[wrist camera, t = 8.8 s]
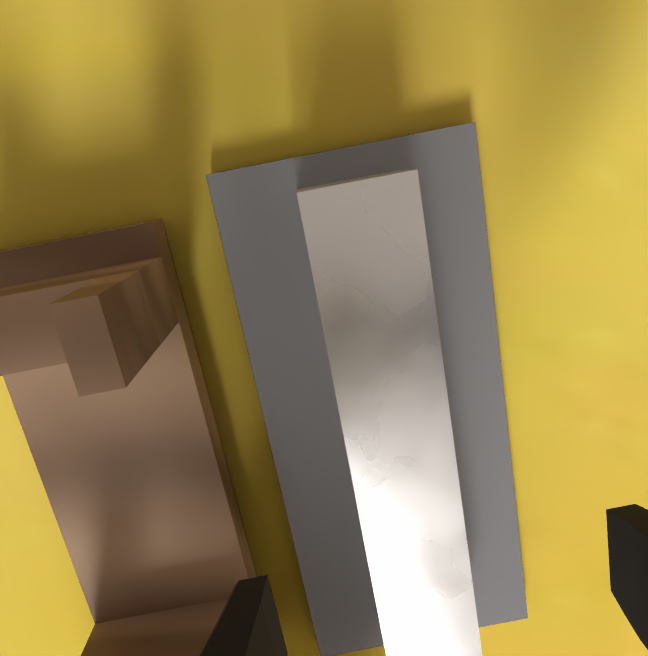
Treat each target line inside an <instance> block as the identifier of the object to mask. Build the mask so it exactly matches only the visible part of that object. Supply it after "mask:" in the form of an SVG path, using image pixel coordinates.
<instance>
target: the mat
mask: <svg viewBox="0 0 648 656" xmlns="http://www.w3.org/2000/svg"><path fill="white" fill-rule="evenodd" d="M415 169H417V170H418V177H419V185H420V192H421V200H422V207H423V215H424V222H425V230H426V237H427V245H428V252H429V260H430V267H431V275H432V282H433V290H434V297H435V305H436V312H437V320H438V327H439V335H440V342H441V350H442V357H443V365H444V372H445V380H446V387H447V395H448V402H449V410H450V417H451V425H452V432H453V440H454V447H455V455H456V462H457V470H458V477H459V485H460V492H461V500H462V507H463V514H464V522H465V529H466V537H467V544H468V552H469V559H470V567H471V574H472V582H473V589H474V597H475V604H476V612H477V619H478V627H483V626H489V625H494V624H499V623H504V622H509V621H515V620H520V619H525V618H528V614H527V605H526V596H525V586H524V577H523V567H522V558H521V549H520V539H519V530H518V520H517V511H516V501H515V492H514V483H513V473H512V464H511V454H510V445H509V436H508V426H507V417H506V407H505V398H504V389H503V379H502V370H501V360H500V351H499V342H498V332H497V323H496V313H495V304H494V294H493V285H492V276H491V266H490V257H489V247H488V238H487V229H486V219H485V210H484V200H483V191H482V182H481V172H480V163H479V153H478V144H477V134H476V125H475V122H473V123H468V124H462V125H457V126H452V127H447V128H442V129H437V130H432V131H427V132H422V133H417V134H412V135H406V136H401V137H396V138H391V139H386V140H381V141H376V142H371V143H366V144H361V145H356V146H350V147H345V148H340V149H335V150H330V151H325V152H320V153H315V154H310V155H305V156H300V157H294V158H289V159H284V160H279V161H274V162H269V163H264V164H259V165H254V166H249V167H244V168H238V169H233V170H228V171H223V172H218V173H213V174H208V175H206V178H207V182H208V186H209V191H210V195H211V199H212V203H213V207H214V212H215V216H216V220H217V224H218V228H219V233H220V237H221V241H222V245H223V249H224V253H225V258H226V262H227V266H228V270H229V274H230V279H231V283H232V287H233V291H234V295H235V300H236V304H237V308H238V312H239V316H240V320H241V325H242V329H243V333H244V337H245V341H246V346H247V350H248V354H249V358H250V362H251V367H252V371H253V375H254V379H255V383H256V388H257V392H258V396H259V400H260V404H261V408H262V413H263V417H264V421H265V425H266V429H267V434H268V438H269V442H270V446H271V450H272V455H273V459H274V463H275V467H276V471H277V476H278V480H279V484H280V488H281V492H282V496H283V501H284V505H285V509H286V513H287V517H288V522H289V526H290V530H291V534H292V538H293V543H294V547H295V551H296V555H297V559H298V563H299V568H300V572H301V576H302V580H303V584H304V589H305V593H306V597H307V601H308V605H309V610H310V614H311V618H312V622H313V626H314V631H315V635H316V639H317V643H318V647H319V651H320V656H331V655H337V654H342V653H347V652H352V651H357V650H363V649H368V648H373V647H378V646H384V642H383V637H382V631H381V626H380V621H379V616H378V611H377V606H376V600H375V595H374V590H373V585H372V580H371V575H370V570H369V564H368V559H367V554H366V549H365V544H364V539H363V533H362V528H361V523H360V518H359V513H358V508H357V502H356V497H355V492H354V487H353V482H352V477H351V471H350V466H349V461H348V456H347V451H346V446H345V440H344V435H343V430H342V425H341V420H340V415H339V409H338V404H337V399H336V394H335V389H334V384H333V378H332V373H331V368H330V363H329V358H328V353H327V347H326V342H325V337H324V332H323V327H322V322H321V316H320V311H319V306H318V301H317V296H316V291H315V285H314V280H313V275H312V270H311V265H310V260H309V254H308V249H307V244H306V239H305V234H304V229H303V223H302V218H301V213H300V208H299V203H298V198H297V189H302V188H307V187H312V186H317V185H322V184H327V183H333V182H338V181H343V180H348V179H353V178H359V177H364V176H369V175H374V174H379V173H385V172H390V171H395V170H415Z"/></svg>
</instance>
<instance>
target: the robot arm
mask: <svg viewBox="0 0 648 656" xmlns="http://www.w3.org/2000/svg"><path fill="white" fill-rule="evenodd" d="M606 514H607V531H608V549H609V567H610V584H611V591H612V593H613V595H614V597H615V598H616V600H617V602H618V604H619V605H620V607H621V609H622V610H623V612H624V614H625V616H626V617H627V619H628V621H629V622H630V624H631V626H632V627H633V629H634V630H635V632H636V634H637V635H638V637H639V639H640V640H641V641H642V643H643V644H644V645H645V647H646V648H647V649H648V510H647V509H645V508H643V507H641V506H638V505H636V504H632V505H627V506H622V507H617V508H612V509H606ZM199 656H287V649H286V646H285V642H284V638H283V634H282V630H281V626H280V622H279V618H278V615H277V611H276V607H275V603H274V599H273V595H272V591H271V587H270V584H269V580H268V576H267V575H264V576H259V577H254V578H249V579H244V580H239V581H238V582H237V584H236V585H235V587H234V589H233V591H232V593H231V595H230V597H229V599H228V601H227V603H226V605H225V607H224V609H223V611H222V613H221V615H220V617H219V619H218V621H217V623H216V625H215V627H214V629H213V631H212V632H211V634H210V636H209V638H208V640H207V642H206V643H205V645H204V647H203V649H202V651H201V652H200V654H199Z"/></svg>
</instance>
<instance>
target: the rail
mask: <svg viewBox="0 0 648 656" xmlns="http://www.w3.org/2000/svg"><path fill="white" fill-rule="evenodd" d="M297 198H298V203H299V208H300V213H301V218H302V223H303V229H304V234H305V239H306V244H307V249H308V254H309V260H310V265H311V270H312V275H313V280H314V285H315V291H316V296H317V301H318V306H319V311H320V316H321V322H322V327H323V332H324V337H325V342H326V347H327V353H328V358H329V363H330V368H331V373H332V378H333V384H334V389H335V394H336V399H337V404H338V409H339V415H340V420H341V425H342V430H343V435H344V440H345V446H346V451H347V456H348V461H349V466H350V471H351V477H352V482H353V487H354V492H355V497H356V502H357V508H358V513H359V518H360V523H361V528H362V533H363V539H364V544H365V549H366V554H367V559H368V564H369V570H370V575H371V580H372V585H373V590H374V595H375V600H376V606H377V611H378V616H379V621H380V626H381V631H382V637H383V642H384V647H385V652H386V656H482V649H481V642H480V634H479V627H478V619H477V612H476V604H475V597H474V589H473V582H472V574H471V567H470V559H469V552H468V544H467V537H466V529H465V522H464V514H463V507H462V500H461V492H460V485H459V477H458V470H457V462H456V455H455V447H454V440H453V432H452V425H451V417H450V410H449V402H448V395H447V387H446V380H445V372H444V365H443V357H442V350H441V342H440V335H439V327H438V320H437V312H436V305H435V297H434V290H433V282H432V275H431V267H430V260H429V252H428V245H427V237H426V230H425V222H424V215H423V207H422V200H421V192H420V185H419V177H418V170H417V169H415V170H395V171H390V172H385V173H379V174H374V175H369V176H364V177H359V178H353V179H348V180H343V181H338V182H333V183H327V184H322V185H317V186H312V187H307V188H302V189H297Z"/></svg>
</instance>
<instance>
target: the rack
mask: <svg viewBox="0 0 648 656" xmlns="http://www.w3.org/2000/svg"><path fill="white" fill-rule="evenodd" d="M0 376H3V378H4V380H5V383H6V386H7V388H8V391H9V394H10V396H11V399H12V402H13V404H14V407H15V410H16V412H17V415H18V418H19V420H20V423H21V426H22V429H23V431H24V434H25V437H26V439H27V442H28V445H29V447H30V450H31V453H32V455H33V458H34V461H35V463H36V466H37V469H38V472H39V474H40V477H41V480H42V482H43V485H44V488H45V490H46V493H47V496H48V498H49V501H50V504H51V506H52V509H53V512H54V514H55V517H56V520H57V523H58V525H59V528H60V531H61V533H62V536H63V539H64V541H65V544H66V547H67V549H68V552H69V555H70V557H71V560H72V563H73V566H74V568H75V571H76V574H77V576H78V579H79V582H80V584H81V587H82V590H83V592H84V595H85V598H86V600H87V603H88V606H89V608H90V611H91V614H92V617H93V619H94V622H95V625H94V628H93V630H92V632H91V634H90V637H89V639H88V641H87V643H86V645H85V648H84V650H83V652H82V654H81V656H199V654H200V652H201V651H202V649H203V647H204V645H205V643H206V642H207V640H208V638H209V636H210V634H211V632H212V631H213V629H214V627H215V625H216V623H217V621H218V619H219V617H220V615H221V613H222V611H223V609H224V607H225V605H226V603H227V601H228V599H229V597H230V595H231V593H232V591H233V589H234V587H235V585H236V584H237V582H238V581H239V580H244V579H249V578H254V577H257V576H256V572H255V568H254V564H253V561H252V557H251V553H250V549H249V545H248V542H247V538H246V534H245V530H244V527H243V523H242V519H241V515H240V512H239V508H238V504H237V500H236V497H235V493H234V489H233V485H232V481H231V478H230V474H229V470H228V466H227V463H226V459H225V455H224V451H223V448H222V444H221V440H220V436H219V432H218V429H217V425H216V421H215V417H214V414H213V410H212V406H211V402H210V399H209V395H208V391H207V387H206V384H205V380H204V376H203V372H202V368H201V365H200V361H199V357H198V353H197V350H196V346H195V342H194V338H193V335H192V331H191V327H190V323H189V319H188V316H187V312H186V308H185V304H184V301H183V297H182V293H181V289H180V286H179V282H178V278H177V274H176V270H175V267H174V263H173V259H172V255H171V252H170V248H169V244H168V240H167V237H166V233H165V229H164V225H163V222H162V219H159V220H154V221H149V222H144V223H139V224H133V225H128V226H123V227H118V228H113V229H108V230H103V231H98V232H93V233H88V234H82V235H77V236H72V237H67V238H62V239H57V240H52V241H47V242H42V243H37V244H31V245H26V246H21V247H16V248H11V249H6V250H1V251H0Z"/></svg>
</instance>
